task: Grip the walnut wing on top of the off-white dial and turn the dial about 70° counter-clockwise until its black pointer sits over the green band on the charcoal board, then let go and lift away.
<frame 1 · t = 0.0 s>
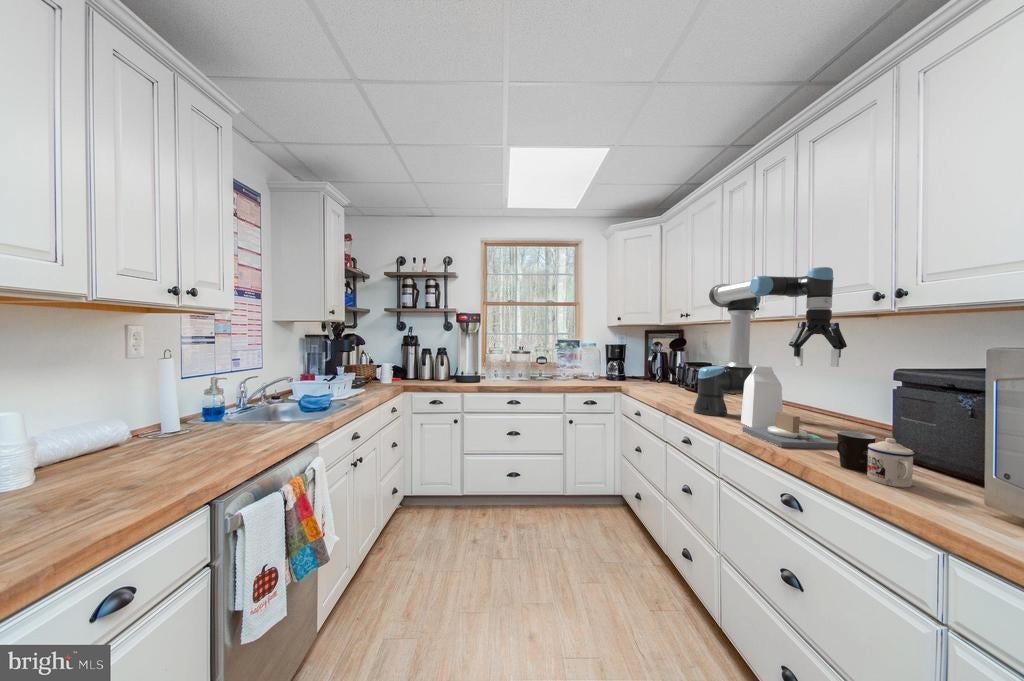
hand: (816, 366, 146), 28 cm above the worktop, tool pointing down, fingers open, 13 cm apart
coffee mug: (849, 468, 115), on the worktop
dial board: (786, 439, 146), on the worktop
dial: (791, 425, 144), point 6 cm above the worktop, hinge at 0.0°
teacup with lid: (892, 484, 103), on the worktop
milk: (761, 426, 168), on the worktop
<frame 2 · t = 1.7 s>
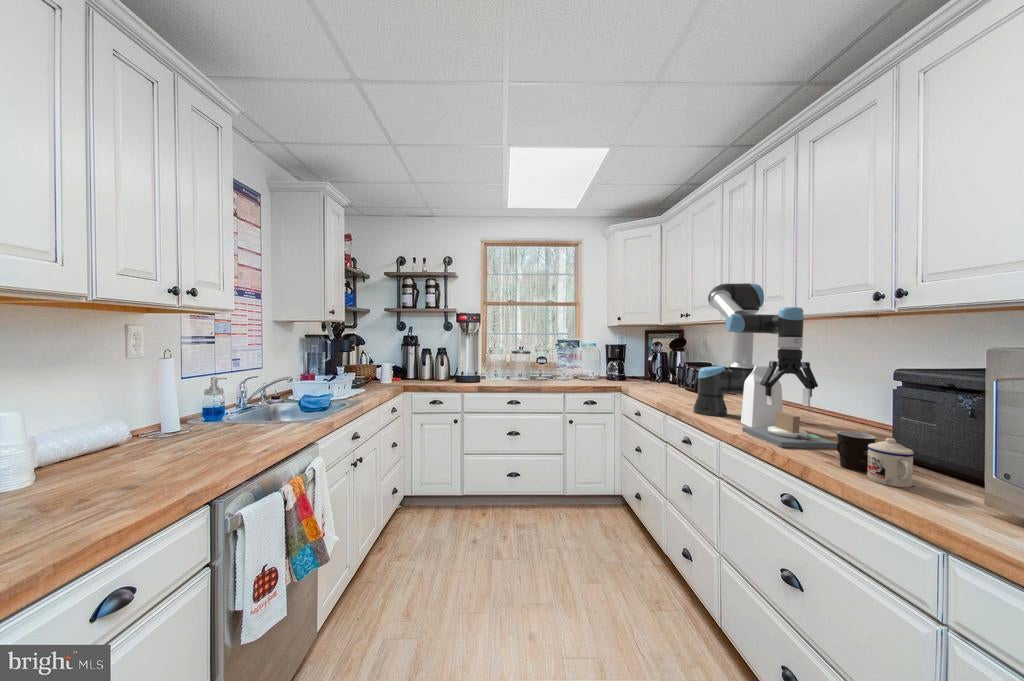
hand: (788, 405, 146), 13 cm above the worktop, tool pointing down, fingers open, 13 cm apart
nothing on the worktop moved.
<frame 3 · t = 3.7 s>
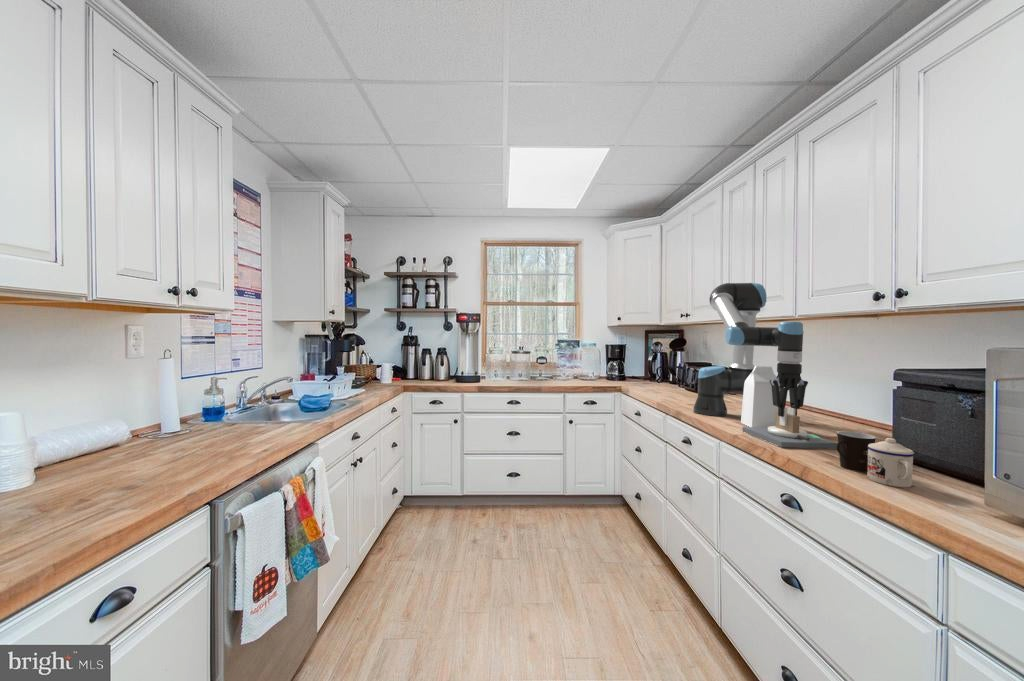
hand: (787, 425, 146), 6 cm above the worktop, tool pointing down, fingers closed on dial, 2 cm apart
dial: (791, 425, 144), point 6 cm above the worktop, hinge at 0.1°, touching gripper
everything else where it was.
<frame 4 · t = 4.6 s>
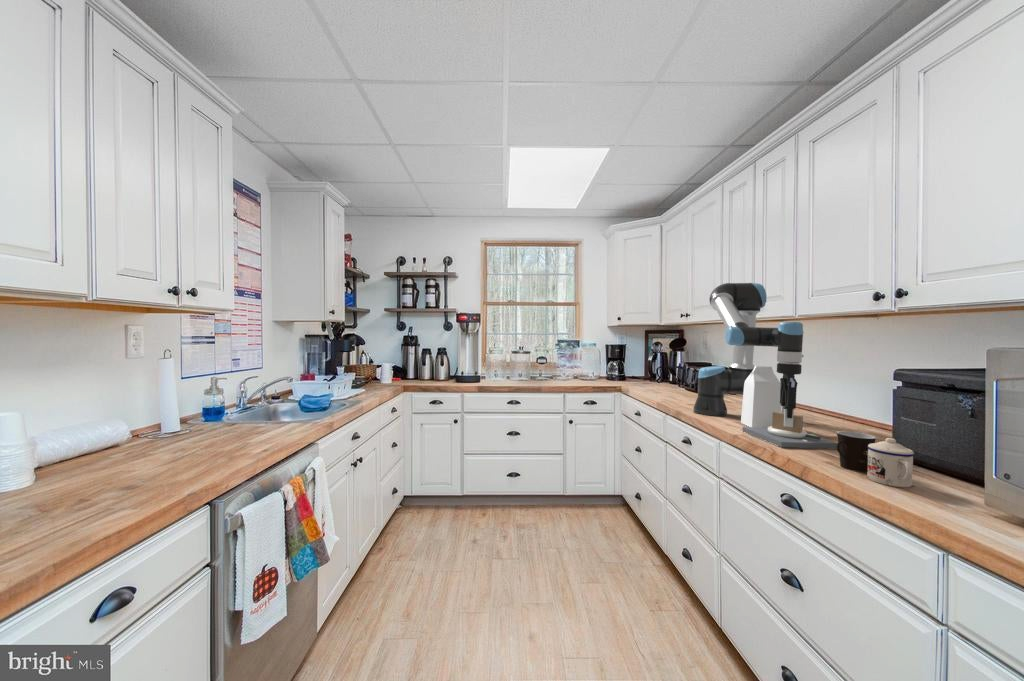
hand: (786, 424, 146), 6 cm above the worktop, tool pointing down, fingers closed on dial, 4 cm apart
dial: (793, 425, 144), point 6 cm above the worktop, hinge at 36.4°, touching gripper
everything else where it was.
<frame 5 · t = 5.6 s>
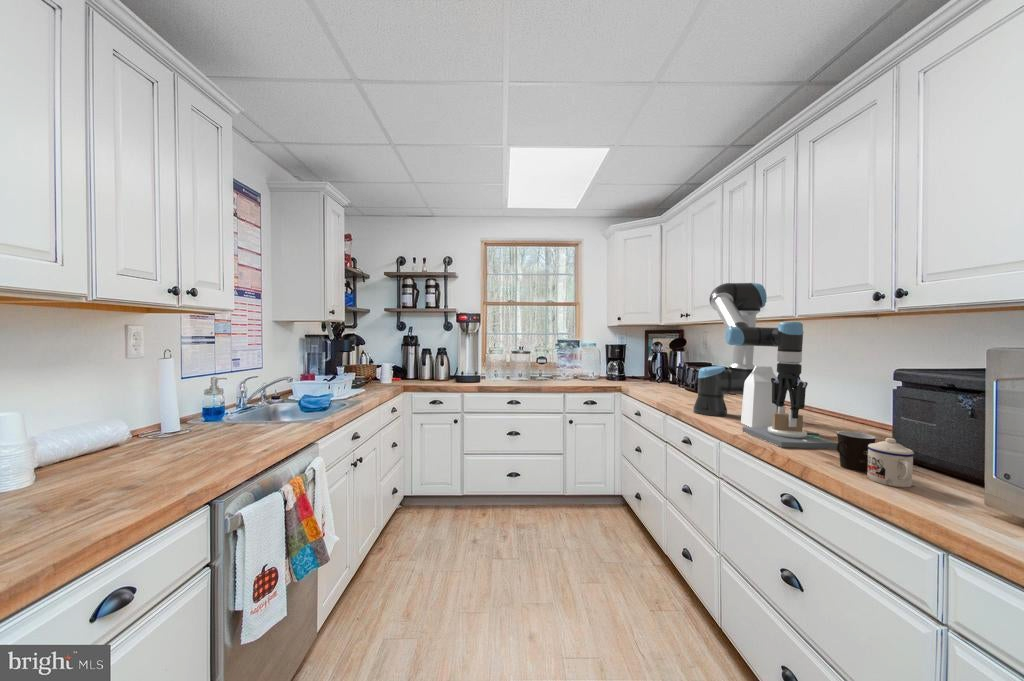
hand: (786, 425, 146), 6 cm above the worktop, tool pointing down, fingers closed on dial, 4 cm apart
dial: (793, 424, 145), point 6 cm above the worktop, hinge at 73.6°, touching gripper
everything else where it was.
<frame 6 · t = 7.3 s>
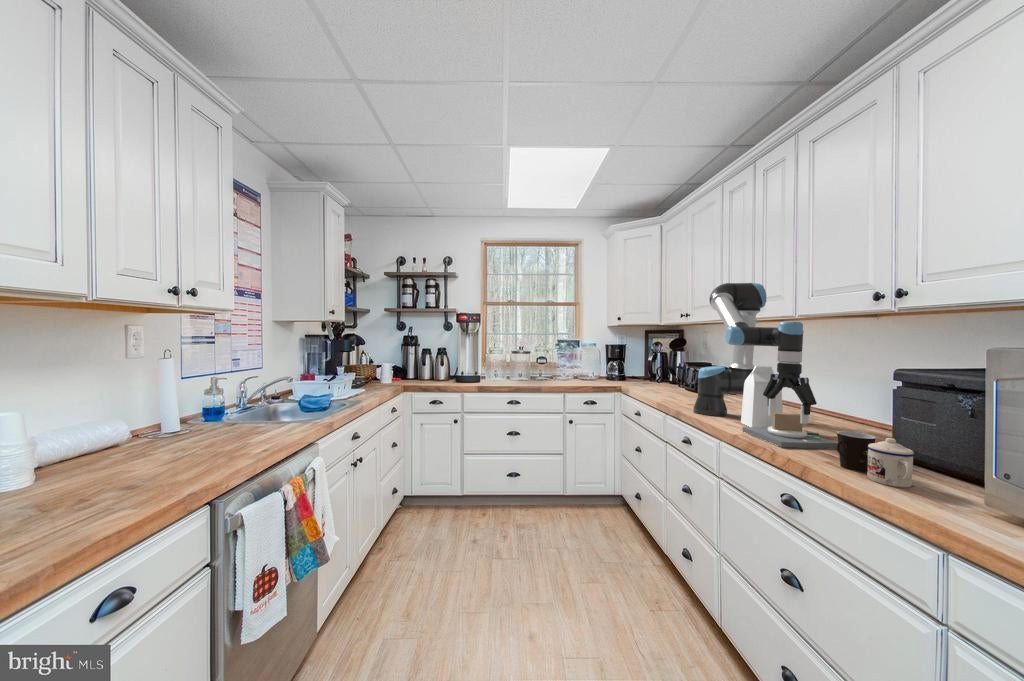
hand: (787, 419, 146), 8 cm above the worktop, tool pointing down, fingers open, 13 cm apart
dial: (793, 424, 145), point 6 cm above the worktop, hinge at 74.0°
everything else where it was.
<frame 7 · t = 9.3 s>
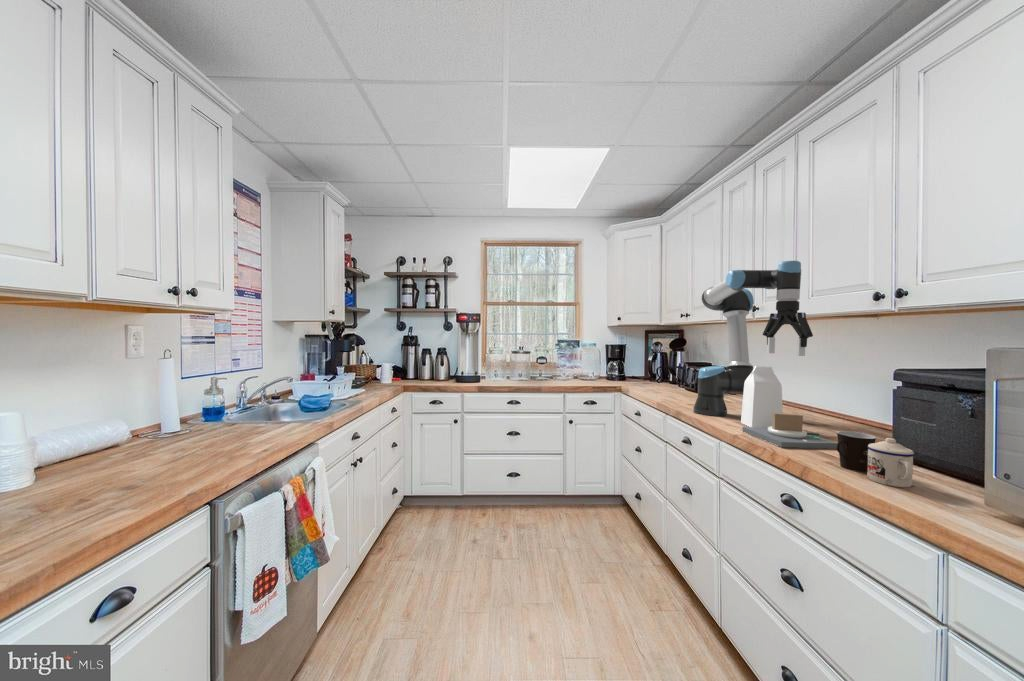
hand: (785, 354, 154), 32 cm above the worktop, tool pointing down, fingers open, 13 cm apart
nothing on the worktop moved.
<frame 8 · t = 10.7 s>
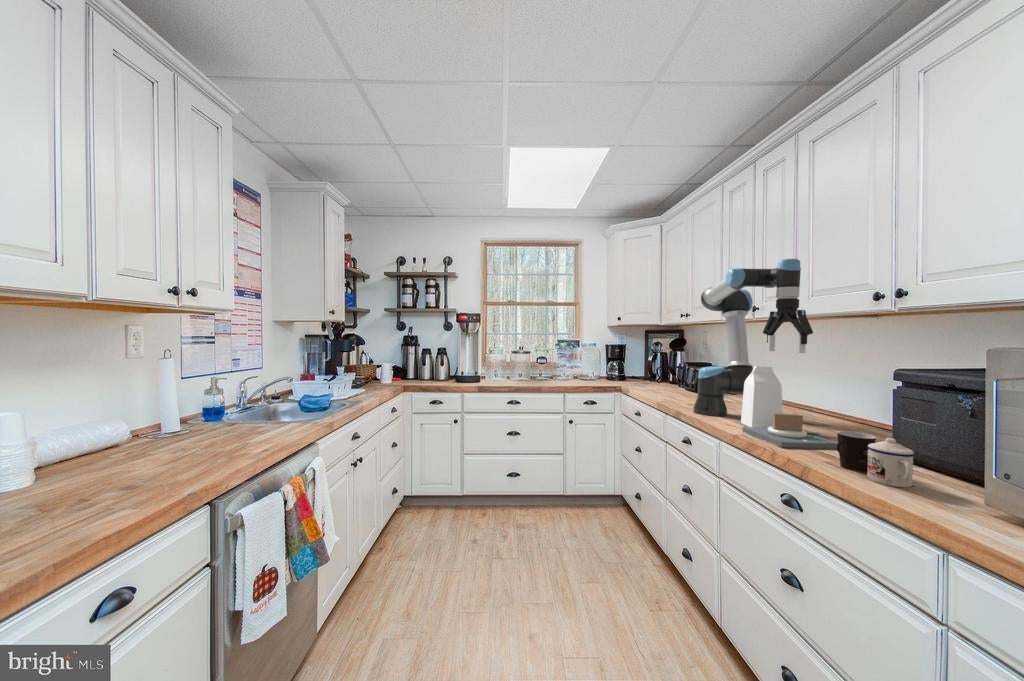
hand: (785, 352, 155), 33 cm above the worktop, tool pointing down, fingers open, 13 cm apart
nothing on the worktop moved.
at the end: dial at +74° (first picture: +0°); the gripper is holding nothing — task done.
